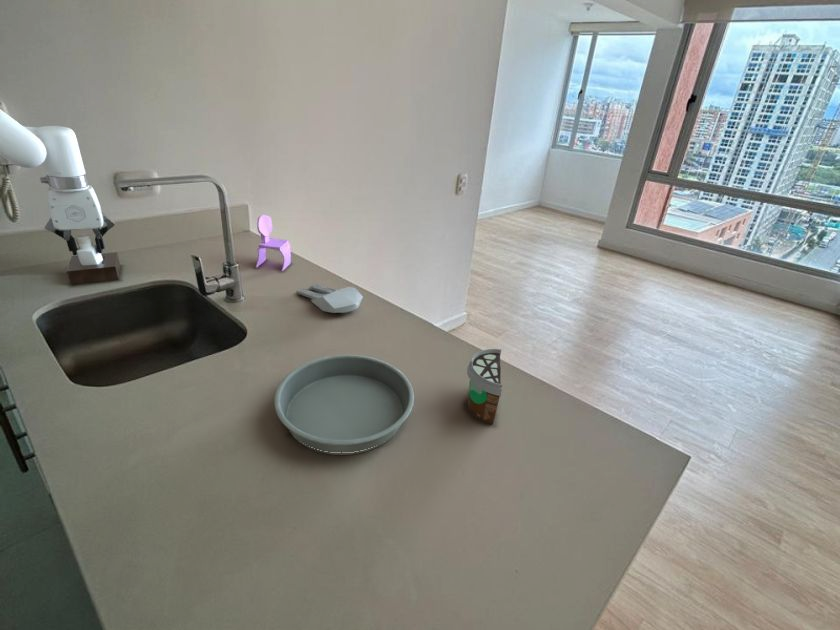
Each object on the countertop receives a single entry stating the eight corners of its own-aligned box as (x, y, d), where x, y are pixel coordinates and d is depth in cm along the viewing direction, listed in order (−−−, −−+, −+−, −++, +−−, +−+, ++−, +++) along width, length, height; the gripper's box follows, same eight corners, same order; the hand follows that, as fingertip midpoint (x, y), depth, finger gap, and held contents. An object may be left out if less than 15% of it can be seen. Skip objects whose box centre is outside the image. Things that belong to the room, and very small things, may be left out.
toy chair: (282, 272, 131) (279, 223, 124) (254, 268, 132) (248, 219, 124) (293, 262, 138) (290, 214, 131) (266, 258, 139) (261, 211, 132)
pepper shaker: (83, 273, 117) (69, 239, 112) (89, 266, 121) (76, 233, 115) (100, 272, 118) (87, 238, 113) (106, 265, 121) (94, 232, 116)
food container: (463, 383, 93) (470, 343, 88) (493, 388, 92) (501, 347, 87) (459, 424, 82) (466, 381, 77) (493, 429, 81) (502, 386, 77)
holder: (71, 285, 114) (66, 271, 112) (76, 269, 122) (71, 256, 120) (119, 280, 119) (115, 266, 117) (120, 265, 126) (116, 252, 124)
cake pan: (428, 389, 90) (430, 371, 88) (382, 482, 69) (383, 462, 67) (319, 359, 96) (318, 342, 93) (246, 437, 75) (243, 417, 73)
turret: (321, 292, 127) (319, 276, 125) (370, 308, 115) (369, 290, 113) (291, 303, 120) (289, 286, 118) (341, 321, 108) (339, 303, 106)
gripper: (20, 186, 101) (45, 261, 110) (109, 184, 109) (126, 254, 118) (27, 178, 107) (50, 250, 116) (111, 177, 115) (126, 245, 123)
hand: (88, 251), depth 117 cm, fingers closed on pepper shaker, 4 cm apart
